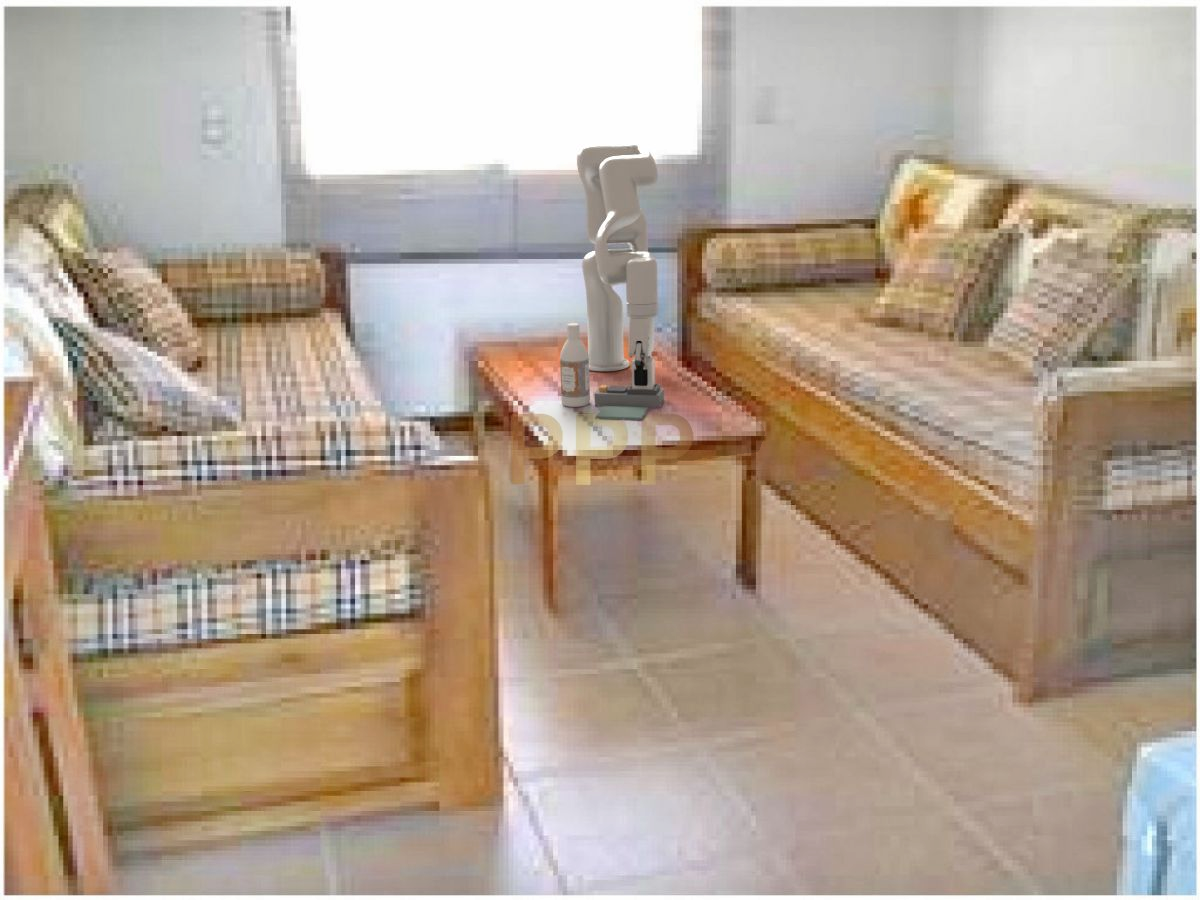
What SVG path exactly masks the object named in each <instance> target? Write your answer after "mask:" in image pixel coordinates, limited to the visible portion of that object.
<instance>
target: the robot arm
mask: <svg viewBox="0 0 1200 900" xmlns="http://www.w3.org/2000/svg"><path fill="white" fill-rule="evenodd" d="M576 165H577V166H576V167H577V171H578V175H579V178H580V180H581V181H580V182H581V183H582V186H583V189H584V192H585V193H584V194H585V219H586V221H585V223H586V234H587V238H588V241H589V242H590V243H591V244H594V250H593V251H590V252H587V254H586V255H585V256H584V257H583V259H582V262H581V263H582V264H581V265H582V273H583V279H584V287H585V295H586V313H587V314H586V318H587V320H586V321H587V322H586V323H587V352H588V357H589V371H592V372H616V371H621V370H625V369H627V368H629V367H630V361H629V359H627V358H625V357H624V354H625V353H624V319H623V318H624V317H623V315H624V314H623V311H624V310H623V301H622V299H621V297H620V295H619V294H618V293H617V292H616V291H615V290H614V289H613V287H615V286H616V287H617V286H620V285H622V286H623V285H625V292H626V294H625V295H626V296H625V297H626V298H625V299H626V316H627V317H628V318H629V327H628V357H629V358H632V359H633V358H634V357H635V362H634V385H635V386H647V385H648V372H647V369H646V361H647V358H653V357H652V353H653V351H654V349H655V319H654V318H656V317H657V316H658V314H659V311H658V310H659V307H658V306H659V305H658V304H659V303H658V301H659V300H658V297H659V296H658V293H659V292H658V291H659V290H658V288H659V287H658V263H657V260H656V258H655V257H654V255H653V254H652V253H651V252H649V251H648V250H649V246H648V245H649V241H648V240H649V239H648V222H647V217H646V215H645V212H644V211H643V210H642V209H641V206H640V205H641V204H640V200H639V195H638V191H637V190H647V189H648V190H649V189H650V190H651V189H652V188H654V187H655V186H656V185H657V182H658V175H659V174H658V168H657V167H658V166H657V164H656V161H655V159H654V157H653V155H652V154H651V152H650V151H649V150H648V149H647V148H646V146H645V145H644V144H642V143H641V142H637V141H626V142H625V141H624V142H602V143H600V142H599V143H591V144H586V145H584V146H582V147H580V148H579V150H578V152H577V154H576ZM620 244H623V245H625V244H626V245H628V246H629V247H627V248H626V247H625V248H609V249H608V245H609V246H610V245H620ZM641 355H644V357H641ZM641 360H644V363H643V361H641Z"/></svg>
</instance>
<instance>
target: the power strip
mask: <svg viewBox="0 0 1200 900" xmlns="http://www.w3.org/2000/svg"><path fill="white" fill-rule="evenodd" d="M664 401H665V388H664V387H661V383H655V389H654V390H647V389H632V382H631V383H630V384H629V385H610V386H608V384H600V386H599V388H598V389H597V390H596V392H594V406H595V407H596V406H598V407H603V406H624V407H648V408H659V409H660V408H661V406H662V405H663V403H664Z"/></svg>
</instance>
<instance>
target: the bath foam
mask: <svg viewBox="0 0 1200 900" xmlns="http://www.w3.org/2000/svg"><path fill="white" fill-rule="evenodd" d="M566 326H567V327H566V328H567V339H566V341H565V342H564V344H563V346H562V348H561V351H560V355H559V356H560V357H559V366H560V369H559V370H560V390H561V391H560V392H561V404H562V405H563V406H565V407H568V408H569V407H570V408H579V407H580V408H581V407H585V406H587V405H589V404H590V402H591V396H590V394H591V392H590V370H589V357H588V348H587V347H586V345H585V344H584V342H583V341H582V340H581V337H580V335H581V334H580V323H576V322H569V323H567V325H566Z"/></svg>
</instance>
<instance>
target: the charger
mask: <svg viewBox="0 0 1200 900" xmlns="http://www.w3.org/2000/svg"><path fill="white" fill-rule="evenodd" d="M641 357H644V355H641ZM655 359H656V358H655V357H652V358H647V361H646V369H647V372H648V385H647V386H635V385H634V362H635V356H633V358H632V360H631V363H630V365H631V383H632V389H647V390H654V389H655V384H656V369H655V367H656V365H655V364H656V363H655ZM641 361H643V363H644V360H641Z"/></svg>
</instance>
